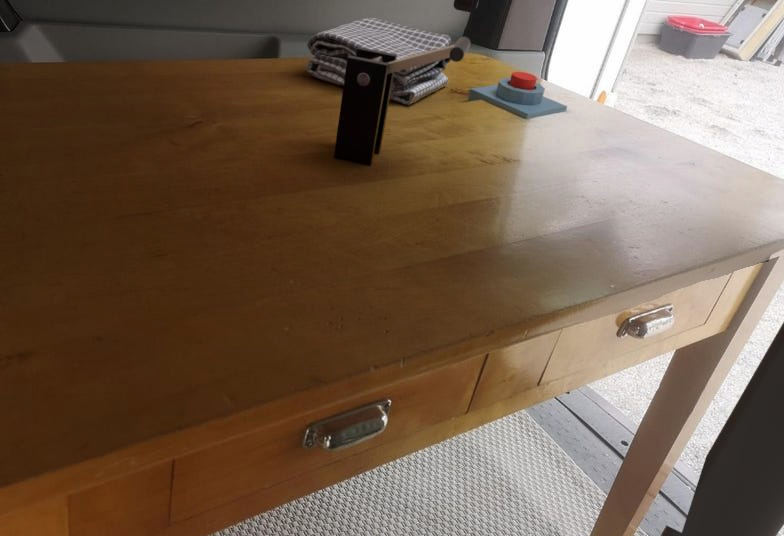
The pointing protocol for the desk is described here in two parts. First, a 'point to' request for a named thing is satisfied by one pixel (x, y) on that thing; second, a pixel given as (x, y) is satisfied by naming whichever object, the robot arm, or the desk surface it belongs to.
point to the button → (523, 80)
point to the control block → (517, 99)
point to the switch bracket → (364, 106)
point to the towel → (383, 37)
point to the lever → (430, 56)
